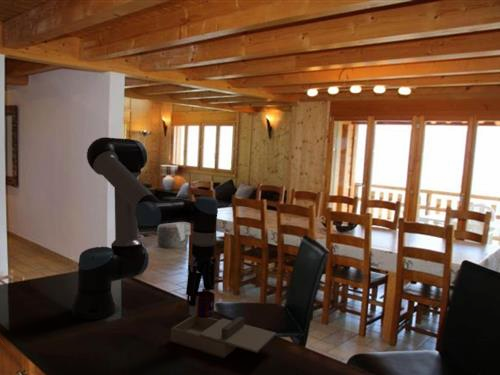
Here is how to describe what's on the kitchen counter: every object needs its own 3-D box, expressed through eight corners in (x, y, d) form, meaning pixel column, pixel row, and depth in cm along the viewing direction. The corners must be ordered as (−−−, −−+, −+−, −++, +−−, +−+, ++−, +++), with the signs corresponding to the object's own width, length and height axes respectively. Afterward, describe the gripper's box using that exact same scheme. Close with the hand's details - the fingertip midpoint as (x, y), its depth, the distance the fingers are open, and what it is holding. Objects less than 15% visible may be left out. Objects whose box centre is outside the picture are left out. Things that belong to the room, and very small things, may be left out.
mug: (204, 319, 140) (206, 299, 139) (181, 311, 146) (182, 291, 145) (217, 314, 146) (218, 294, 145) (194, 306, 151) (196, 287, 150)
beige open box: (170, 341, 142) (171, 328, 141) (195, 325, 155) (196, 313, 155) (224, 358, 133) (225, 344, 133) (245, 340, 147) (246, 327, 147)
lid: (199, 335, 137) (200, 324, 136) (222, 320, 150) (223, 309, 150) (256, 352, 128) (257, 341, 128) (276, 334, 142) (276, 323, 142)
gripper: (197, 251, 133) (192, 323, 135) (227, 241, 151) (223, 305, 153) (177, 247, 136) (172, 318, 138) (209, 237, 154) (204, 300, 156)
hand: (199, 311), depth 145 cm, fingers closed on mug, 7 cm apart
